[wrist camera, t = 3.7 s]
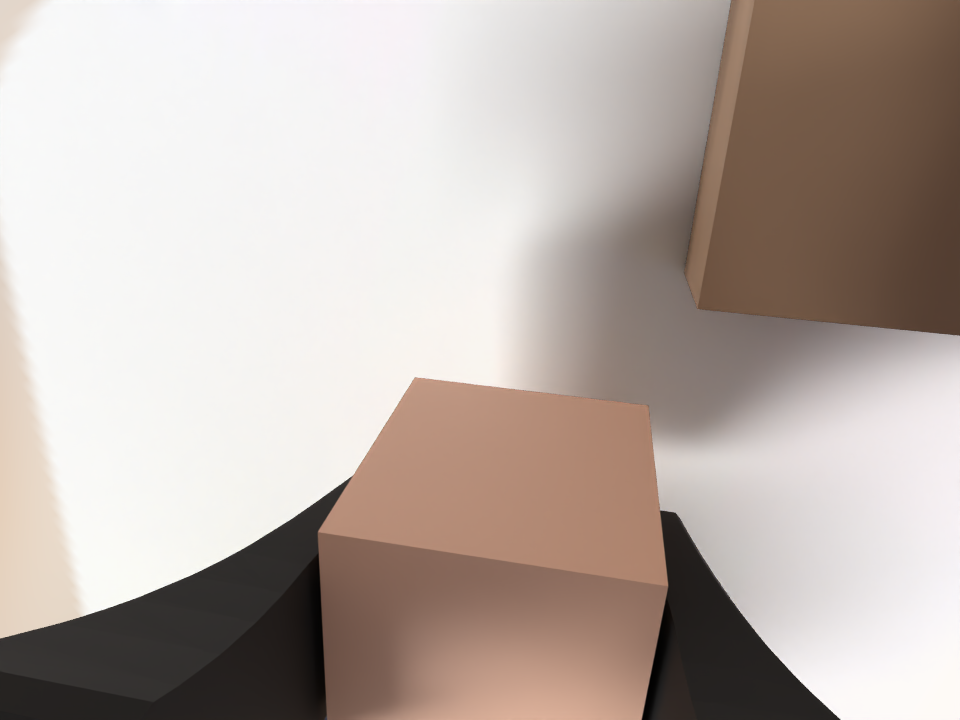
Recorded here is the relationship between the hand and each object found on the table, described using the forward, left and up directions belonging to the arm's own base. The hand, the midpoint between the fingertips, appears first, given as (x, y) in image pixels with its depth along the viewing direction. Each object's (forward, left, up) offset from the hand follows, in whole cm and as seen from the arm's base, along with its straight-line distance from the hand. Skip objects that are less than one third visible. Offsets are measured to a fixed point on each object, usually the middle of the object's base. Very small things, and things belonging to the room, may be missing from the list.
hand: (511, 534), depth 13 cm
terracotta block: (0, 0, -2) cm, 2 cm away
